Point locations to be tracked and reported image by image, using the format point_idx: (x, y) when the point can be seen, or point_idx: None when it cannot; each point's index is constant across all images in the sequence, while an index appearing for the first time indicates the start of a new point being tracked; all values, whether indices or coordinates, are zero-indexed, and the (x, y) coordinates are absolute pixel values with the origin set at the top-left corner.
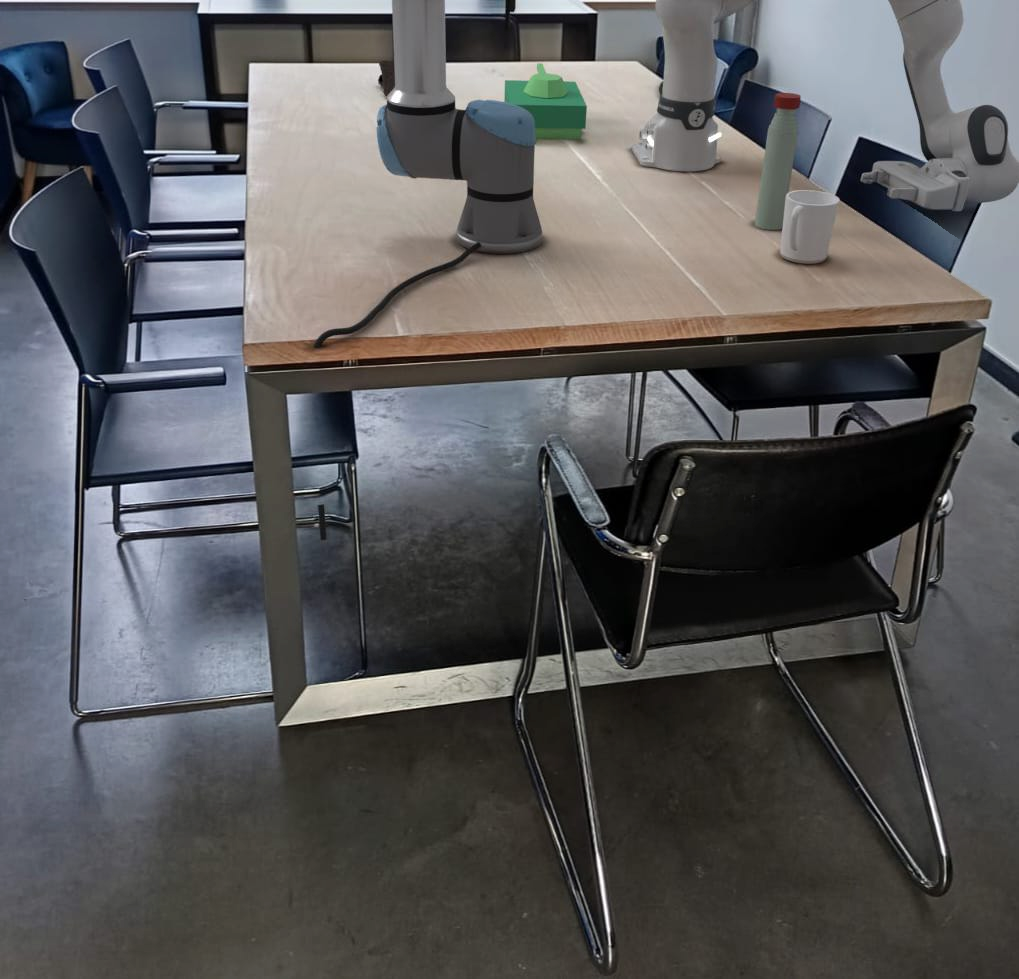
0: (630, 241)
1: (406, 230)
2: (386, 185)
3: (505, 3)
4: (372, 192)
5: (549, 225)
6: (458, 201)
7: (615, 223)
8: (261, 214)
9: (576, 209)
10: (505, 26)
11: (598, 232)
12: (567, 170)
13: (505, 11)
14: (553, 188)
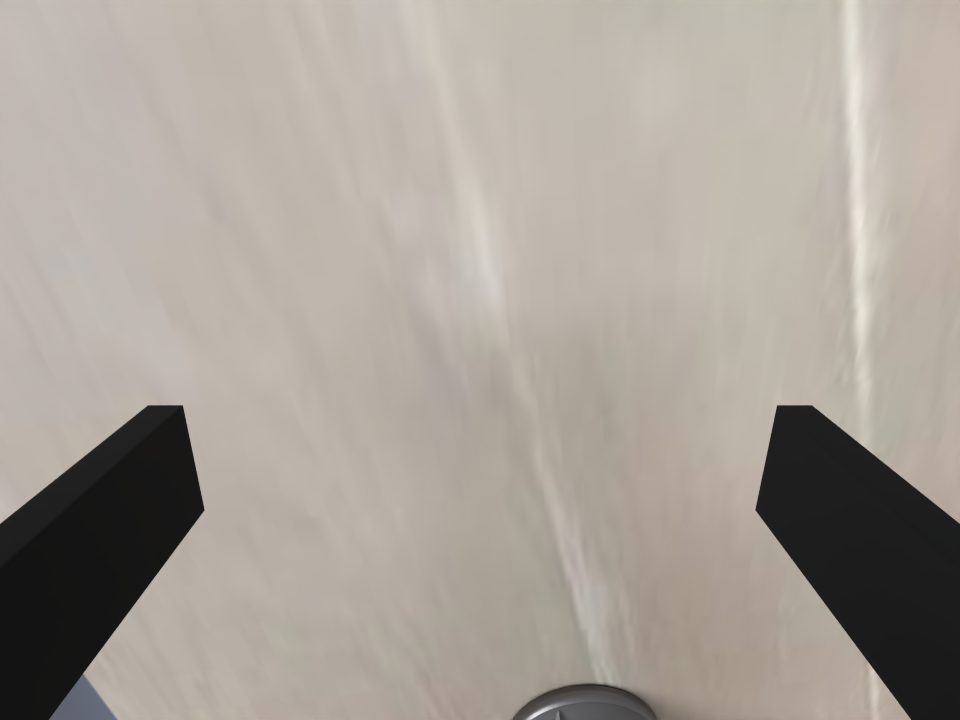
0: (825, 717)
1: (405, 715)
2: (279, 470)
3: (906, 712)
4: (264, 524)
5: (680, 664)
6: (479, 557)
7: (819, 640)
8: (99, 675)
9: (750, 573)
10: (774, 531)
11: (773, 685)
12: (778, 255)
13: (849, 631)
14: (714, 435)
